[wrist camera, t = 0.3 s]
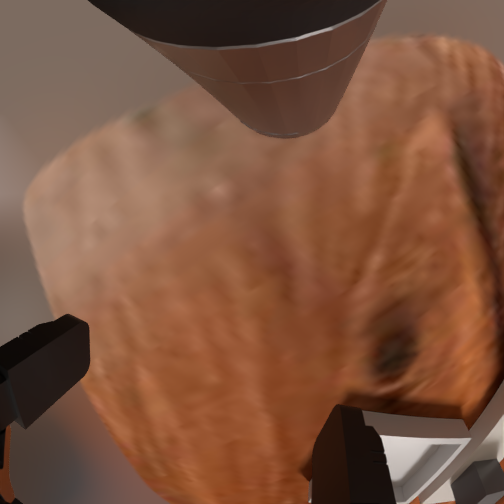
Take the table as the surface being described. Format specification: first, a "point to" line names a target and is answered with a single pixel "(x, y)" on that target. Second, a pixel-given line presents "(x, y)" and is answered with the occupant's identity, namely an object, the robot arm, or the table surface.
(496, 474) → the block
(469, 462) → the flat gray board
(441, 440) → the tray
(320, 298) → the table surface
